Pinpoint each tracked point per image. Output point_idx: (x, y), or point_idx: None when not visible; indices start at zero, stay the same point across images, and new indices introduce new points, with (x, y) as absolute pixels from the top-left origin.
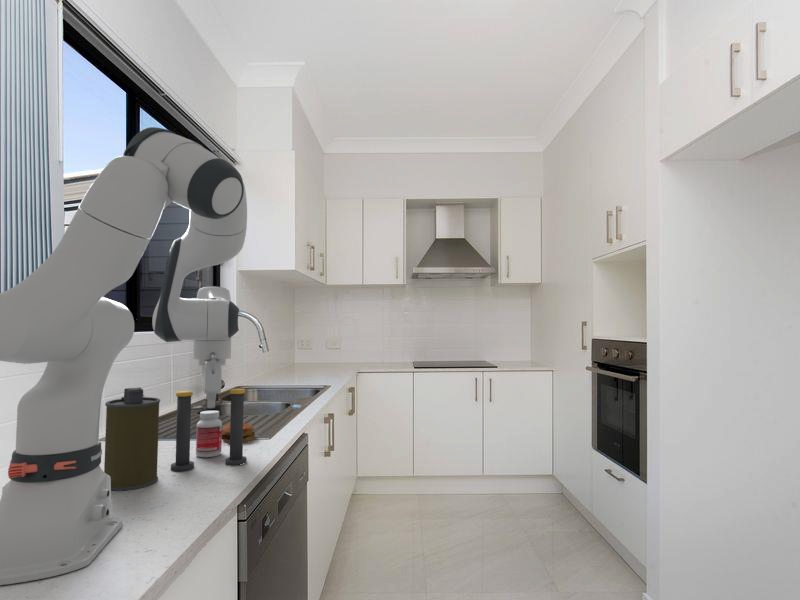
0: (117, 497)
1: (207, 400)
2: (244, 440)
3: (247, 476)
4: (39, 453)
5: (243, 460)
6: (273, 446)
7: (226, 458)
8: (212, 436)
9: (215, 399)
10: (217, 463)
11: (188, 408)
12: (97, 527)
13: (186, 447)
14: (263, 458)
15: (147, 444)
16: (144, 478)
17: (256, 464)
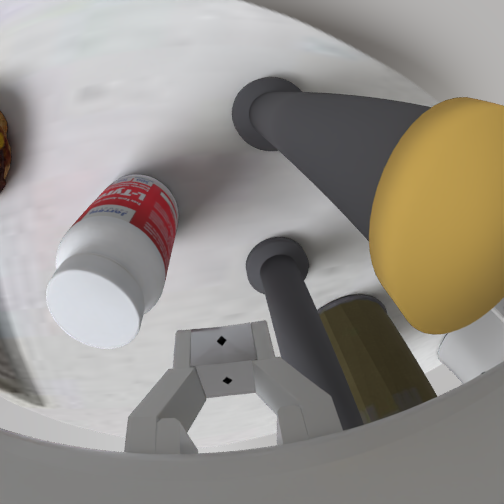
0: (406, 323)
1: (211, 394)
2: (2, 123)
3: (414, 98)
4: None
5: (299, 90)
6: (75, 7)
7: (259, 147)
8: (164, 230)
9: (289, 365)
10: (256, 172)
11: (354, 403)
12: (502, 301)
13: (308, 292)
14: (238, 21)
15: (418, 364)
16: (387, 315)
17: (311, 51)
